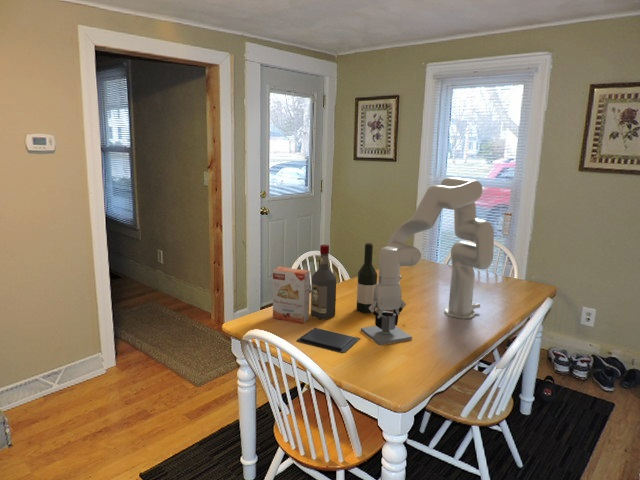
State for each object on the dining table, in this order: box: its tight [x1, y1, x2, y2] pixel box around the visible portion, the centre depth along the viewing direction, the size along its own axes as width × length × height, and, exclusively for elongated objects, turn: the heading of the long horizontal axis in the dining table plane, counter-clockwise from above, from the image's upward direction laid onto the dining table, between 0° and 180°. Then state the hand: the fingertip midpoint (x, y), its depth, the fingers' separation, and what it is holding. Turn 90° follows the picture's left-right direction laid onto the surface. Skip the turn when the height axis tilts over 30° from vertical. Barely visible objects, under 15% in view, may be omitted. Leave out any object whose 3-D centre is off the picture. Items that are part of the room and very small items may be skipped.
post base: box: [360, 325, 413, 346], centre depth 179 cm, size 14×14×7 cm
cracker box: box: [272, 266, 311, 324], centre depth 192 cm, size 14×6×21 cm, turn 69°
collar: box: [380, 310, 397, 330], centre depth 179 cm, size 6×6×5 cm
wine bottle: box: [356, 241, 378, 314], centre depth 202 cm, size 8×8×30 cm
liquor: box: [310, 244, 337, 321], centre depth 195 cm, size 9×9×30 cm
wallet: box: [295, 327, 362, 354], centre depth 175 cm, size 20×2×15 cm
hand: (386, 325), depth 179 cm, fingers closed on collar, 6 cm apart
